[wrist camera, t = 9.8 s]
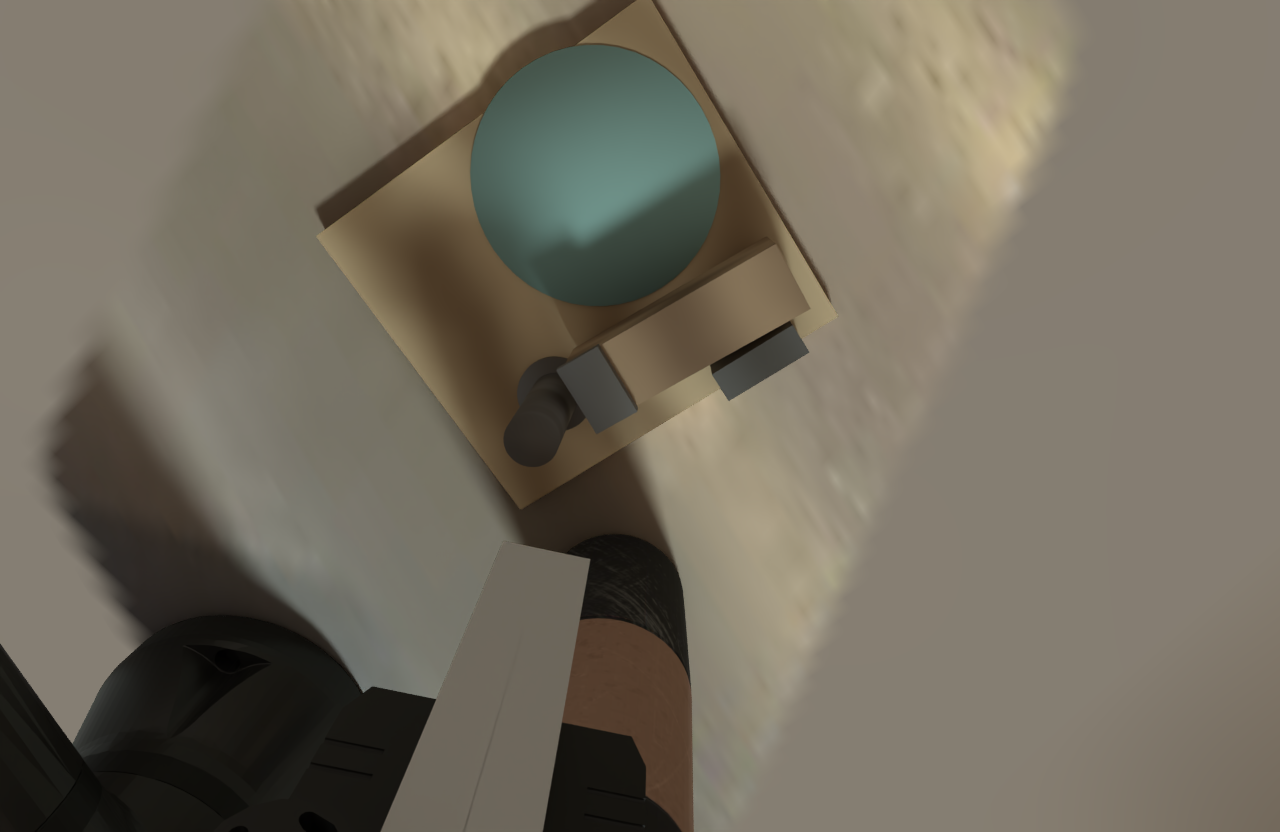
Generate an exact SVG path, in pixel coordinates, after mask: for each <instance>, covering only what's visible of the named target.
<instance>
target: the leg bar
mask: <svg viewBox="0 0 1280 832" xmlns="http://www.w3.org/2000/svg"><path fill="white" fill-rule="evenodd" d="M810 309H811V308H810V306H809V305H808V303H807V301H806V299H805V297H804V295H803V293H802V291H801V290H800V288H799V286H798V284H797V282H796V280H795V278H794V276H793V275H792V273H791V271H790V269H789V267H788V265H787V263H786V261H785V260H784V258H783V256H782V254H781V252H780V250H779V248H778V246H777V245H776V243H774V242H773V241H772V240H771V239H769V238H768V237H767V236H766V237H765V238H763V239H761V240H759V241H758V242H756V243H754V244H753V245H751V246H749V247H747V248H746V249H744V250H742V251H741V252H739V253H737V254H735V255H734V256H732V257H730V258H728V259H727V260H725V261H723V262H722V263H720V264H718V265H716V266H715V267H713V268H711V269H710V270H708V271H706V272H704V273H703V274H701V275H699V276H698V277H696V278H694V279H692V280H691V281H689V282H687V283H686V284H684V285H682V286H680V287H679V288H677V289H675V290H673V291H672V292H670V293H668V294H667V295H665V296H663V297H661V298H660V299H658V300H656V301H655V302H653V303H651V304H649V305H648V306H646V307H644V308H643V309H641V310H639V311H637V312H636V313H634V314H632V315H630V316H629V317H627V318H625V319H624V320H622V321H620V322H618V323H617V324H615V325H613V326H612V327H610V328H608V329H606V330H605V331H603V332H601V333H600V334H598V335H596V336H594V337H593V338H591V339H589V340H587V341H586V342H584V343H582V344H581V345H579V346H577V347H575V348H574V349H573V350H572V352H571V354H570V356H569V358H568V359H567V361H566V363H564V364H562V365H561V366H559V367H558V368H557V370H556V371H557V373H558V374H559V376H560V377H561V379H562V381H563V382H564V384H565V385H566V387H567V388H568V390H569V392H570V393H571V395H572V396H573V398H574V399H575V401H576V403H577V404H578V406H579V407H580V409H581V411H582V412H583V414H584V415H585V417H586V418H587V420H588V422H589V423H590V425H591V426H592V428H593V429H594V431H595V433H596V434H598V433H600V432H602V431H604V430H605V429H607V428H609V427H611V426H613V425H614V424H616V423H618V422H620V421H622V420H623V419H625V418H627V417H629V416H631V415H632V414H634V413H636V412H637V411H638V407H637V405H639V404H641V403H642V402H644V401H646V400H648V399H650V398H651V397H653V396H655V395H657V394H659V393H660V392H662V391H664V390H666V389H668V388H669V387H671V386H673V385H675V384H677V383H678V382H680V381H682V380H684V379H686V378H687V377H689V376H691V375H693V374H695V373H696V372H698V371H700V370H702V369H704V368H705V367H707V366H709V365H711V364H713V363H714V362H716V361H718V360H720V359H722V358H723V357H725V356H727V355H729V354H731V353H732V352H734V351H736V350H738V349H740V348H741V347H743V346H745V345H747V344H749V343H750V342H752V341H754V340H756V339H757V338H759V337H761V336H763V335H765V334H766V333H768V332H770V331H772V330H774V329H775V328H777V327H779V326H781V325H783V324H784V323H786V322H788V321H790V320H792V319H793V318H795V317H797V316H799V315H801V314H802V313H804V312H806V311H808V310H810Z"/></svg>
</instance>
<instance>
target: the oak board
mask: <svg viewBox="0 0 1280 832" xmlns="http://www.w3.org/2000/svg"><path fill="white" fill-rule="evenodd" d="M581 45H605V46H612V47H619V48H622V49H626V50H629V51H633V52H636V53H638V54H640V55H642V56H645V57H647V58H649V59H651V60H653V61H654V62H656V63H658V64H659V65H661V66H662V67H664V68H665V69H667V70H668V71H669V72H670V73H672V74H673V75H674V76H675V77H676V78H677V79H679V80H680V81H681V82H682V84H683V85H684V86H685V87H686V88H687V89H688V90H689V91H690V92H691V94H692V95H693V97H694V98H695V99H696V101H697V102H698V104H699V105H700V107H701V108H702V110H703V112H704V114H705V116H706V118H707V120H708V122H709V124H710V127H711V130H712V133H713V135H714V138H715V142H716V146H717V151H718V155H719V164H720V193H719V199H718V205H717V210H716V213H715V217H714V220H713V223H712V226H711V228H710V230H709V233H708V235H707V237H706V239H705V241H704V243H703V244H702V246H701V248H700V249H699V251H698V253H697V254H696V255H695V257H694V258H693V259H692V260H691V262H690V263H689V264H688V266H687V267H686V268H685V269H684V270H683V271H682V272H680V273H679V274H678V275H677V276H676V277H675V278H674V279H673V280H671V281H670V282H669V283H667V284H666V285H665V286H663V287H662V288H660V289H658V290H656V291H655V292H653V293H651V294H649V295H647V296H644V297H642V298H639V299H637V300H634V301H630V302H626V303H622V304H618V305H609V306H585V305H578V304H572V303H568V302H565V301H561V300H558V299H555V298H553V297H551V296H548V295H546V294H543V293H542V292H540V291H538V290H536V289H535V288H533V287H531V286H530V285H528V284H527V283H526V282H524V281H523V280H522V279H520V278H519V277H518V276H516V275H515V274H514V273H513V272H512V271H511V270H510V269H509V268H508V267H507V266H506V265H505V264H504V262H503V261H502V260H501V259H500V257H499V256H498V255H497V254H496V252H495V251H494V249H493V248H492V246H491V244H490V243H489V241H488V239H487V238H486V236H485V234H484V231H483V229H482V227H481V225H480V223H479V220H478V216H477V213H476V210H475V207H474V202H473V196H472V191H471V176H470V169H471V155H472V150H473V145H474V140H475V136H476V133H477V130H478V128H479V125H480V122H481V120H482V118H483V116H484V114H485V112H486V111H485V112H484V113H483V114H481V115H480V116H479V117H477V118H476V119H474V120H473V121H472V122H470V123H469V124H468V125H466V126H465V127H464V128H462V129H461V130H460V131H458V132H457V133H455V134H454V135H453V136H451V137H450V138H449V139H447V140H446V141H445V142H443V143H442V144H441V145H439V146H438V147H436V148H435V149H434V150H432V151H431V152H430V153H428V154H427V155H426V156H424V157H423V158H422V159H420V160H419V161H417V162H416V163H415V164H413V165H412V166H411V167H409V168H408V169H407V170H405V171H404V172H403V173H401V174H400V175H398V176H397V177H396V178H394V179H393V180H392V181H390V182H389V183H388V184H386V185H385V186H384V187H382V188H381V189H379V190H378V191H377V192H375V193H374V194H373V195H371V196H370V197H369V198H367V199H366V200H365V201H363V202H362V203H360V204H359V205H358V206H356V207H355V208H354V209H352V210H351V211H350V212H348V213H347V214H346V215H344V216H343V217H341V218H340V219H339V220H337V221H336V222H335V223H333V224H332V225H331V226H329V227H328V228H327V229H325V230H324V231H322V232H321V233H320V234H318V235H317V236H316V237H317V238H318V240H319V241H320V242H321V244H322V245H323V246H324V248H325V249H326V250H327V252H328V253H329V254H330V256H331V257H332V258H333V260H334V261H335V262H336V264H337V265H338V266H339V268H340V269H341V270H342V272H343V273H344V274H345V276H346V277H347V278H348V280H349V281H350V282H351V284H352V285H353V286H354V288H355V289H356V290H357V292H358V293H359V294H360V296H361V297H362V298H363V300H364V301H365V302H366V304H367V305H368V307H369V308H370V309H371V311H372V312H373V313H374V315H375V316H376V317H377V319H378V320H379V321H380V323H381V324H382V325H383V327H384V328H385V329H386V331H387V332H388V333H389V335H390V336H391V337H392V339H393V340H394V341H395V343H396V344H397V345H398V347H399V348H400V349H401V351H402V352H403V353H404V355H405V356H406V357H407V359H408V360H409V361H410V363H411V364H412V365H413V367H414V368H415V369H416V371H417V372H418V373H419V375H420V376H421V377H422V379H423V380H424V381H425V383H426V384H427V385H428V387H429V388H430V390H431V391H432V392H433V394H434V395H435V396H436V398H437V399H438V400H439V402H440V403H441V404H442V406H443V407H444V408H445V410H446V411H447V412H448V414H449V415H450V416H451V418H452V419H453V420H454V422H455V423H456V424H457V426H458V427H459V428H460V430H461V431H462V432H463V434H464V435H465V436H466V438H467V439H468V440H469V442H470V443H471V444H472V446H473V447H474V448H475V450H476V451H477V452H478V454H479V455H480V456H481V458H482V459H483V460H484V462H485V463H486V464H487V466H488V467H489V469H490V470H491V471H492V473H493V474H494V475H495V477H496V478H497V479H498V481H499V482H500V483H501V485H502V486H503V487H504V489H505V490H506V491H507V493H508V494H509V495H510V497H511V498H512V499H513V501H514V502H515V503H516V505H517V506H518V507H519V509H520V510H521V509H523V508H525V507H526V506H528V505H529V504H531V503H533V502H534V501H536V500H538V499H539V498H541V497H543V496H544V495H546V494H548V493H549V492H551V491H552V490H554V489H556V488H557V487H559V486H561V485H562V484H564V483H566V482H567V481H569V480H571V479H572V478H574V477H575V476H577V475H579V474H580V473H582V472H584V471H585V470H587V469H589V468H590V467H592V466H594V465H595V464H597V463H598V462H600V461H602V460H603V459H605V458H607V457H608V456H610V455H612V454H613V453H615V452H617V451H618V450H620V449H621V448H623V447H625V446H626V445H628V444H630V443H631V442H633V441H635V440H636V439H638V438H640V437H641V436H643V435H644V434H646V433H648V432H649V431H651V430H653V429H654V428H656V427H658V426H659V425H661V424H663V423H664V422H666V421H667V420H669V419H671V418H672V417H674V416H676V415H677V414H679V413H681V412H682V411H684V410H686V409H687V408H689V407H690V406H692V405H694V404H695V403H697V402H699V401H700V400H702V399H704V398H705V397H707V396H709V395H710V394H712V393H713V392H715V391H717V390H718V389H720V388H721V390H722V391H723V393H724V394H725V396H726V397H727V399H728V400H729V401H730V400H731V399H733V398H735V397H736V396H738V395H740V394H741V393H743V392H745V391H746V390H748V389H749V388H751V387H753V386H754V385H756V384H758V383H759V382H761V381H763V380H764V379H766V378H768V377H769V376H771V375H773V374H774V373H776V372H778V371H779V370H781V369H783V368H784V367H786V366H788V365H789V364H791V363H793V362H794V361H796V360H798V359H799V358H801V357H802V356H804V355H806V354H807V353H809V351H808V349H807V348H806V346H805V344H804V343H803V341H802V338H804V337H805V336H807V335H809V334H810V333H812V332H814V331H815V330H817V329H819V328H820V327H822V326H824V325H825V324H827V323H828V322H830V321H832V320H833V319H835V318H837V317H838V315H837V313H836V311H835V310H834V308H833V306H832V305H831V303H830V301H829V300H828V298H827V296H826V295H825V293H824V291H823V289H822V288H821V286H820V284H819V283H818V281H817V279H816V278H815V276H814V274H813V273H812V271H811V269H810V267H809V266H808V264H807V262H806V261H805V259H804V257H803V256H802V254H801V252H800V251H799V249H798V247H797V245H796V244H795V242H794V240H793V239H792V237H791V235H790V234H789V232H788V230H787V229H786V227H785V225H784V223H783V222H782V220H781V218H780V217H779V215H778V213H777V212H776V210H775V208H774V207H773V205H772V203H771V201H770V200H769V198H768V196H767V195H766V193H765V191H764V190H763V188H762V186H761V185H760V183H759V181H758V179H757V178H756V176H755V174H754V173H753V171H752V169H751V168H750V166H749V164H748V163H747V161H746V159H745V157H744V156H743V154H742V152H741V151H740V149H739V147H738V146H737V144H736V142H735V141H734V139H733V137H732V135H731V134H730V132H729V130H728V129H727V127H726V125H725V124H724V122H723V120H722V119H721V117H720V115H719V113H718V112H717V110H716V108H715V107H714V105H713V103H712V102H711V100H710V98H709V97H708V95H707V93H706V91H705V90H704V88H703V86H702V85H701V83H700V81H699V80H698V78H697V76H696V75H695V73H694V71H693V69H692V68H691V66H690V64H689V63H688V61H687V59H686V58H685V56H684V54H683V53H682V51H681V49H680V47H679V46H678V44H677V42H676V41H675V39H674V37H673V36H672V34H671V32H670V31H669V29H668V27H667V25H666V24H665V22H664V20H663V19H662V17H661V15H660V14H659V12H658V10H657V9H656V7H655V5H654V3H653V2H652V0H636V1H635V2H633V3H632V4H631V5H629V6H628V7H626V8H625V9H624V10H622V11H621V12H620V13H618V14H617V15H616V16H614V17H613V18H612V19H610V20H609V21H607V22H606V23H605V24H603V25H602V26H601V27H599V28H598V29H597V30H595V31H594V32H593V33H591V34H590V35H588V36H587V37H586V38H584V39H583V40H582V41H580V42H579V43H578V44H576V45H575V46H581ZM766 236H767V237H768V238H769V239H771V240H772V241H773V242H774V243H776V245H777V246H778V248H779V250H780V252H781V254H782V256H783V258H784V260H785V261H786V263H787V265H788V267H789V269H790V271H791V273H792V275H793V276H794V278H795V280H796V282H797V284H798V286H799V288H800V290H801V291H802V293H803V295H804V297H805V299H806V301H807V303H808V305H809V306H810V308H811V309H810V310H808V311H806V312H804V313H802V314H801V315H799V316H797V317H795V318H793V319H792V320H790V321H788V322H786V323H784V324H783V325H781V326H779V327H777V328H775V329H774V330H772V331H770V332H768V333H766V334H765V335H763V336H761V337H759V338H757V339H756V340H754V341H752V342H750V343H749V344H747V345H745V346H743V347H741V348H740V349H738V350H736V351H734V352H732V353H731V354H729V355H727V356H725V357H723V358H722V359H720V360H718V361H716V362H714V363H713V364H711V365H709V366H707V367H705V368H704V369H702V370H700V371H698V372H696V373H695V374H693V375H691V376H689V377H687V378H686V379H684V380H682V381H680V382H678V383H677V384H675V385H673V386H671V387H669V388H668V389H666V390H664V391H662V392H660V393H659V394H657V395H655V396H653V397H651V398H650V399H648V400H646V401H644V402H642V403H641V404H639V405H637V407H638V411H637V412H636V413H634V414H632V415H631V416H629V417H627V418H625V419H623V420H622V421H620V422H618V423H616V424H614V425H613V426H611V427H609V428H607V429H605V430H604V431H602V432H600V433H598V434H596V433H595V431H594V429H593V428H592V426H591V425H590V423H589V422H588V420H587V418H586V417H585V415H584V414H583V412H582V411H581V409H580V407H579V406H578V404H577V403H576V401H575V399H574V398H573V396H572V395H571V393H570V392H569V390H568V388H567V387H566V385H565V384H564V382H563V381H562V379H561V377H560V376H559V374H558V373H557V371H556V370H557V368H558V367H559V366H561V365H562V364H564V363H566V361H567V359H568V358H569V356H570V354H571V352H572V350H573V349H574V348H575V347H577V346H579V345H581V344H582V343H584V342H586V341H587V340H589V339H591V338H593V337H594V336H596V335H598V334H600V333H601V332H603V331H605V330H606V329H608V328H610V327H612V326H613V325H615V324H617V323H618V322H620V321H622V320H624V319H625V318H627V317H629V316H630V315H632V314H634V313H636V312H637V311H639V310H641V309H643V308H644V307H646V306H648V305H649V304H651V303H653V302H655V301H656V300H658V299H660V298H661V297H663V296H665V295H667V294H668V293H670V292H672V291H673V290H675V289H677V288H679V287H680V286H682V285H684V284H686V283H687V282H689V281H691V280H692V279H694V278H696V277H698V276H699V275H701V274H703V273H704V272H706V271H708V270H710V269H711V268H713V267H715V266H716V265H718V264H720V263H722V262H723V261H725V260H727V259H728V258H730V257H732V256H734V255H735V254H737V253H739V252H741V251H742V250H744V249H746V248H747V247H749V246H751V245H753V244H754V243H756V242H758V241H759V240H761V239H763V238H765V237H766Z"/></svg>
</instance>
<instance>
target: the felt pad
mask: <svg viewBox="0 0 1280 832" xmlns="http://www.w3.org/2000/svg"><path fill="white" fill-rule="evenodd" d="M470 176H471V191H472V196H473V202H474V207H475V210H476V213H477V216H478V220H479V223H480V225H481V227H482V229H483V231H484V234H485V236H486V238H487V239H488V241H489V243H490V244H491V246H492V248H493V249H494V251H495V252H496V254H497V255H498V256H499V257H500V259H501V260H502V261H503V262H504V264H505V265H506V266H507V267H508V268H509V269H510V270H511V271H512V272H513V273H514V274H515V275H516V276H518V277H519V278H520V279H522V280H523V281H524V282H526V283H527V284H528V285H530V286H531V287H533V288H535V289H536V290H538V291H540V292H542V293H543V294H546V295H548V296H551V297H553V298H555V299H558V300H561V301H565V302H568V303H572V304H578V305H585V306H609V305H618V304H622V303H626V302H630V301H634V300H637V299H639V298H642V297H644V296H647V295H649V294H651V293H653V292H655V291H656V290H658V289H660V288H662V287H663V286H665V285H666V284H667V283H669V282H670V281H671V280H673V279H674V278H675V277H676V276H677V275H678V274H679V273H680V272H682V271H683V270H684V269H685V268H686V267H687V266H688V264H689V263H690V262H691V260H692V259H693V258H694V257H695V255H696V254H697V253H698V251H699V249H700V248H701V246H702V244H703V243H704V241H705V239H706V237H707V235H708V233H709V230H710V228H711V226H712V223H713V220H714V217H715V213H716V210H717V205H718V199H719V193H720V164H719V155H718V151H717V146H716V142H715V138H714V135H713V133H712V130H711V127H710V124H709V122H708V120H707V118H706V116H705V114H704V112H703V110H702V108H701V107H700V105H699V104H698V102H697V101H696V99H695V98H694V97H693V95H692V94H691V92H690V91H689V90H688V89H687V88H686V87H685V86H684V85H683V84H682V82H681V81H680V80H679V79H677V78H676V77H675V76H674V75H673V74H672V73H670V72H669V71H668V70H667V69H665V68H664V67H662V66H661V65H659V64H658V63H656V62H654V61H653V60H651V59H649V58H647V57H645V56H642V55H640V54H638V53H636V52H633V51H629V50H626V49H622V48H619V47H612V46H605V45H581V46H574V47H568V48H564V49H561V50H557V51H554V52H551V53H549V54H547V55H544V56H542V57H540V58H538V59H536V60H534V61H533V62H531V63H529V64H528V65H526V66H525V67H523V68H522V69H521V70H519V71H518V72H517V73H516V74H515V75H514V76H512V77H511V78H510V79H509V80H508V81H507V82H506V83H505V84H504V86H503V87H502V88H501V89H500V90H499V91H498V92H497V94H496V95H495V97H494V98H493V100H492V101H491V103H490V104H489V106H488V107H487V110H486V112H485V114H484V116H483V118H482V120H481V122H480V125H479V128H478V130H477V133H476V136H475V140H474V145H473V150H472V155H471V169H470Z"/></svg>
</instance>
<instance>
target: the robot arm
mask: <svg viewBox="0 0 1280 832" xmlns="http://www.w3.org/2000/svg"><path fill="white" fill-rule="evenodd" d="M589 564H590V559H587V558H582V557H578V556H573V555H568V554H564V553H559V552H554V551H549V550H545V549H540V548H535V547H531V546H526V545H521V544H517V543H512V542H507V541H503V542H502V545H501V547H500V549H499V552H498V554H497V557H496V559H495V561H494V564H493V566H492V568H491V571H490V573H489V576H488V578H487V580H486V583H485V585H484V587H483V590H482V592H481V595H480V597H479V599H478V602H477V604H476V606H475V609H474V611H473V614H472V616H471V618H470V621H469V623H468V625H467V628H466V630H465V633H464V635H463V637H462V640H461V642H460V644H459V647H458V649H457V652H456V654H455V656H454V659H453V661H452V663H451V666H450V668H449V671H448V673H447V675H446V678H445V680H444V682H443V685H442V687H441V690H440V692H439V694H438V697H437V699H432V698H427V697H422V696H417V695H412V694H407V693H402V692H397V691H393V690H388V689H383V688H378V687H373V686H372V687H371V688H370V689H368V690H367V691H365V692H364V693H363V694H361V693H360V692H359V690H358V688H357V687H356V685H355V684H354V682H353V681H352V680H351V678H350V677H349V676H348V675H347V673H346V672H345V671H344V670H343V669H342V668H341V667H340V666H339V665H338V664H337V663H336V662H335V661H334V660H333V659H332V658H331V657H330V656H329V655H327V654H326V653H325V652H324V651H322V650H321V649H320V648H318V647H317V646H316V645H314V644H313V643H311V642H309V641H308V640H306V639H304V638H303V637H301V636H299V635H297V634H295V633H293V632H291V631H289V630H287V629H284V628H282V627H279V626H277V625H274V624H271V623H268V622H264V621H260V620H256V619H251V618H245V617H238V616H206V617H199V618H194V619H189V620H185V621H182V622H179V623H176V624H173V625H171V626H169V627H167V628H164V629H162V630H161V631H159V632H157V633H156V634H154V635H153V636H151V637H150V638H148V639H147V640H146V641H145V642H144V643H143V644H141V645H140V646H139V647H138V648H137V649H136V650H135V651H134V652H132V653H131V654H130V655H129V656H128V657H127V658H126V659H125V660H124V661H122V663H120V664H119V665H118V667H116V669H115V670H114V671H113V672H112V673H111V675H110V676H109V677H108V678H107V680H106V681H105V682H104V684H103V685H102V687H101V688H100V690H99V692H98V694H97V696H96V698H95V701H94V702H93V704H92V706H91V708H90V710H89V712H88V714H87V716H86V718H85V720H84V722H83V724H82V726H81V728H80V730H79V732H78V734H77V736H76V738H75V740H74V742H73V744H72V743H71V742H70V740H69V739H68V738H67V736H66V735H65V733H64V732H63V731H62V729H61V728H60V726H59V725H58V724H57V722H56V721H55V720H54V718H53V717H52V715H51V714H50V713H49V711H48V710H47V708H46V707H45V705H44V704H43V703H42V701H41V700H40V699H39V697H38V696H37V694H36V693H35V692H34V690H33V689H32V687H31V686H30V685H29V684H28V682H27V680H26V679H25V678H24V677H23V675H22V673H21V672H20V671H19V669H18V668H17V666H16V665H15V664H14V662H13V661H12V659H11V658H10V657H9V655H8V654H7V652H6V651H5V650H4V648H3V647H2V645H1V644H0V832H644V828H645V799H646V765H645V763H644V761H643V759H642V757H641V755H640V753H639V751H638V748H637V746H636V744H635V742H634V740H633V738H632V736H627V735H622V734H617V733H612V732H607V731H602V730H598V729H593V728H588V727H583V726H578V725H573V724H568V723H563V722H562V718H563V712H564V707H565V701H566V695H567V689H568V684H569V678H570V672H571V667H572V661H573V655H574V649H575V644H576V638H577V632H578V627H579V621H580V615H581V609H582V604H583V598H584V592H585V587H586V581H587V575H588V569H589Z"/></svg>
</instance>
